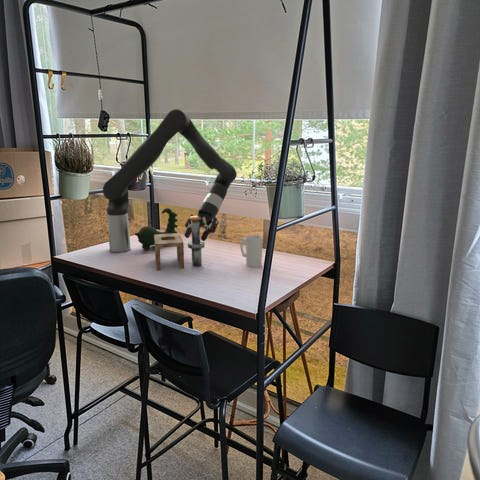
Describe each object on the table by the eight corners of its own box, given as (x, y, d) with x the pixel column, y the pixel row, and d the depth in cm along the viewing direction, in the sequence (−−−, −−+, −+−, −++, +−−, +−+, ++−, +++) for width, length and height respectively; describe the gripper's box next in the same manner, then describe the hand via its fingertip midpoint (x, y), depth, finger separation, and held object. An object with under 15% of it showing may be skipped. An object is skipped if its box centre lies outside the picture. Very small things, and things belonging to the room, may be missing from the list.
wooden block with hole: (156, 270, 171) (155, 244, 168) (155, 259, 186) (154, 234, 183) (184, 268, 173) (183, 242, 171) (180, 257, 188) (179, 233, 186)
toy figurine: (167, 243, 217) (128, 250, 198) (168, 206, 214) (128, 209, 194) (181, 246, 212) (141, 253, 192) (182, 208, 208) (141, 211, 188)
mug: (265, 264, 178) (265, 236, 175) (256, 268, 173) (256, 239, 170) (245, 260, 184) (245, 233, 181) (236, 264, 178) (235, 236, 175)
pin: (189, 268, 173) (187, 219, 168) (187, 263, 180) (186, 215, 175) (206, 267, 175) (205, 218, 170) (203, 262, 181) (202, 214, 176)
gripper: (193, 199, 181) (176, 231, 174) (220, 202, 173) (203, 235, 167) (201, 210, 186) (185, 241, 180) (228, 213, 179) (212, 245, 172)
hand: (194, 238), depth 173 cm, fingers open, 8 cm apart
